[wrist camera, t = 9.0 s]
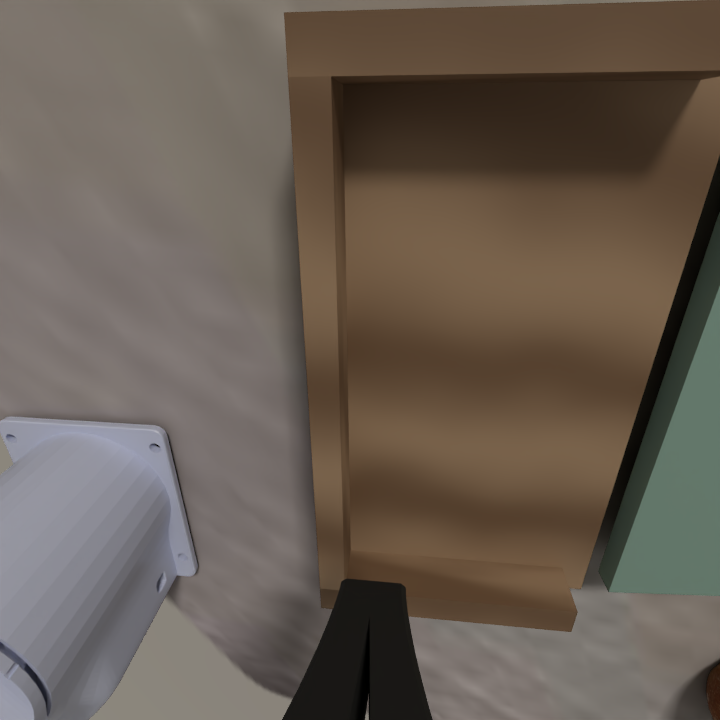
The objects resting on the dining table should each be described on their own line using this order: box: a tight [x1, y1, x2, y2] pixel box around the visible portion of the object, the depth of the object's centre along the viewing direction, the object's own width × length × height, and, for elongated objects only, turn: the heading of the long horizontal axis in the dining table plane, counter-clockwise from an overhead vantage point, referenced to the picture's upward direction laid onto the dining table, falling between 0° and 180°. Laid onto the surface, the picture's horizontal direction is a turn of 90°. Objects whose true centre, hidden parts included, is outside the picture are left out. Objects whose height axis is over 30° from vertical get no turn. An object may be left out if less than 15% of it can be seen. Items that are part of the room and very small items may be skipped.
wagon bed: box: [284, 0, 720, 632], centre depth 16 cm, size 20×11×4 cm, turn 0°
